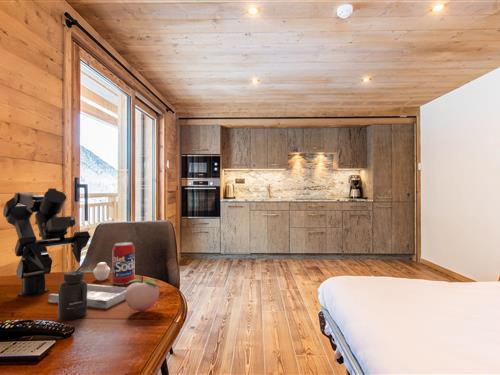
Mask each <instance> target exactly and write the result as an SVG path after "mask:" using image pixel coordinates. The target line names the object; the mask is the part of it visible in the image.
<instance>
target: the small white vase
mask: <svg viewBox="0 0 500 375" xmlns="http://www.w3.org/2000/svg"><path fill="white" fill-rule="evenodd" d="M110 271H111V268H110V267H109V265H107V262H105V261H101V262H98V263H97V264H96V266H95V268H93V271H92V272H93V276H94V277H95V278H96V280H97V281H105V280H107V278H108V277H109V275H110V273H111V272H110Z"/></svg>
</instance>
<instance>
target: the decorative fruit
mask: <svg viewBox="0 0 500 375" xmlns="http://www.w3.org/2000/svg"><path fill="white" fill-rule="evenodd" d="M129 283H130V284H129ZM127 285H128V286H127V287H128V288H127V290H126V293H125V302H126V304H127V306H128V307H129V308H130V309H132V310H134V311H137V312H140V313H144V312H146V311H148V310H149V309H151V308H152V307H153V306H155V304H156V303H157V301H158V299H159V296H160V289H159V285H158V283H157V282H156V281H154V280H151V279H146V280H144V277H143V276H141V279H139V278H138V279H134V280H132V281H129V282H128V284H127Z"/></svg>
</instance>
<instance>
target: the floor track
mask: <svg viewBox="0 0 500 375" xmlns="http://www.w3.org/2000/svg"><path fill="white" fill-rule="evenodd" d="M127 288H128V286H127V287H126V286H118V285H115V286H114V285H103V284H93V283H87V308H97V309H104V310H106V309H109V308H111V307H113V306H115V305H117V304H119V303H121V302H123V301H126V299H125V293H126V290H127ZM58 297H59V293H50V294H48V303H53V304H58Z"/></svg>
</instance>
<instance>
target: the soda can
mask: <svg viewBox="0 0 500 375" xmlns="http://www.w3.org/2000/svg"><path fill="white" fill-rule="evenodd" d="M111 250H112V251H111V252H112V254H111V255H112V256H111V257H112V261H111V262H112V263H111V265H112V267H111V268H112V272H111V274H112V275H111V276H112V278H111V279H112V280H111V281H112V283H113V284H115V286H124V284H126V285H129V284H128V282H129V281H132V280H136V279H135V276H136V273H135V270H136V269H135V267H136V265H135V263H136V262H135V261H136V260H135V254H136V253H135V252H136V251H135V250H136V248H135V246H134V244H133V242H118V243H117V242H116V243H114V245H113V248H112V249H111Z"/></svg>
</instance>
